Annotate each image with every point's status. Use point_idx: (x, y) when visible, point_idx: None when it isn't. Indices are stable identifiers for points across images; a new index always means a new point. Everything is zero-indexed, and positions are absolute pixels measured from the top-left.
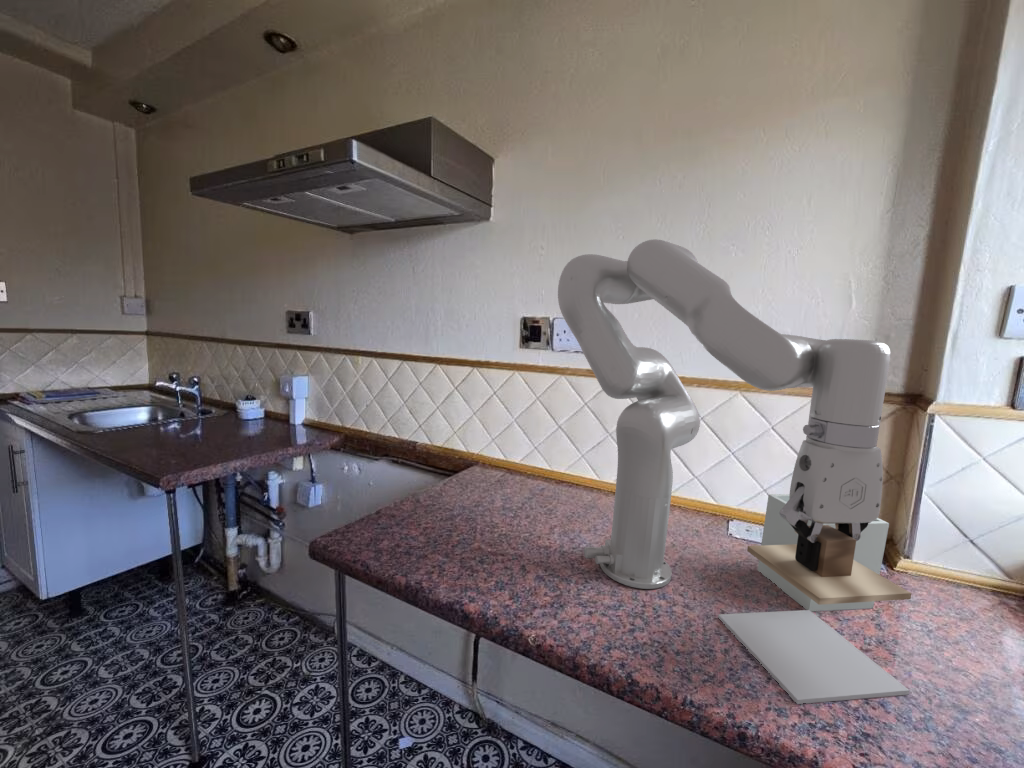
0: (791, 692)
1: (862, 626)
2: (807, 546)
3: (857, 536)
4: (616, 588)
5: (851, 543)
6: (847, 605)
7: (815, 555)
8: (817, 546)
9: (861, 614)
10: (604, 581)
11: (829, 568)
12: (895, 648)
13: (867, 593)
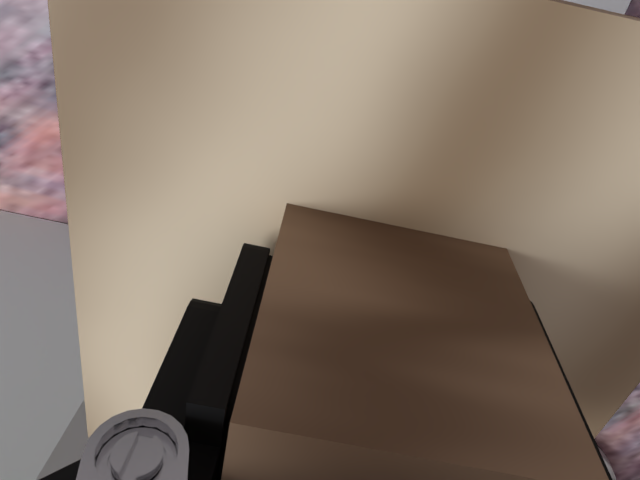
0: (626, 4)
1: (57, 152)
2: (607, 468)
3: (120, 452)
4: (629, 447)
5: (290, 399)
6: (32, 225)
7: (568, 384)
8: (597, 452)
9: (8, 190)
10: (632, 471)
11: (472, 273)
12: (36, 47)
13: (430, 6)
